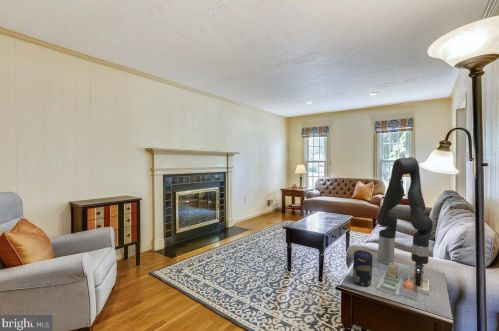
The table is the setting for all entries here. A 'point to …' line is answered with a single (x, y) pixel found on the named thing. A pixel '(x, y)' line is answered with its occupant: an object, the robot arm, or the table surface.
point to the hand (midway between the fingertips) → (418, 283)
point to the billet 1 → (392, 271)
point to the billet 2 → (421, 280)
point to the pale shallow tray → (424, 289)
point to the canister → (362, 267)
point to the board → (390, 284)
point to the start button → (408, 285)
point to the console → (408, 292)
